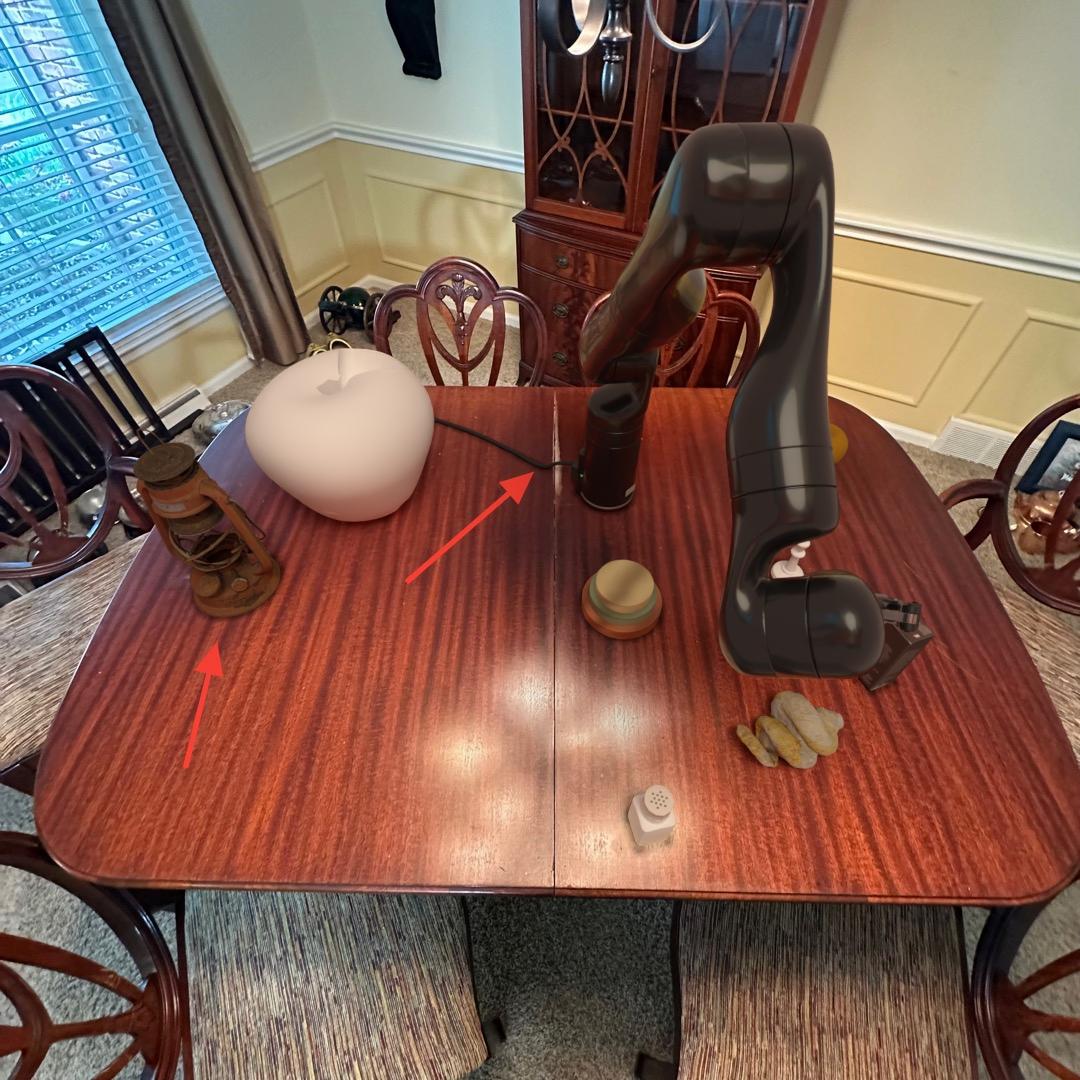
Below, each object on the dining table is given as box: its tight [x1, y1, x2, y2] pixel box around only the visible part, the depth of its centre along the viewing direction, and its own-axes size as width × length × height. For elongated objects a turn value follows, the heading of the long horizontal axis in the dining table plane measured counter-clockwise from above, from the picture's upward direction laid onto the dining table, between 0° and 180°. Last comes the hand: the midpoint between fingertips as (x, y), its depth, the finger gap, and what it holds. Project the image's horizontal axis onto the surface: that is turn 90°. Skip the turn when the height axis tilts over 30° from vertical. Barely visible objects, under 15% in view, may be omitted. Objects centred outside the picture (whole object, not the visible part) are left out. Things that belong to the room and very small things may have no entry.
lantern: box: [132, 427, 281, 619], centre depth 83 cm, size 17×13×30 cm
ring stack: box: [580, 559, 663, 640], centre depth 89 cm, size 12×12×6 cm
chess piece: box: [770, 541, 811, 578], centre depth 92 cm, size 5×5×10 cm
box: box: [858, 599, 937, 691], centre depth 80 cm, size 6×4×12 cm
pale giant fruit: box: [244, 347, 435, 523], centre depth 98 cm, size 28×27×25 cm
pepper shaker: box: [627, 784, 677, 847], centre depth 67 cm, size 4×4×10 cm
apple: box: [830, 422, 849, 465], centre depth 109 cm, size 9×9×9 cm
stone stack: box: [736, 690, 845, 770], centre depth 76 cm, size 10×6×15 cm
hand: (848, 600), depth 69 cm, fingers open, 8 cm apart
